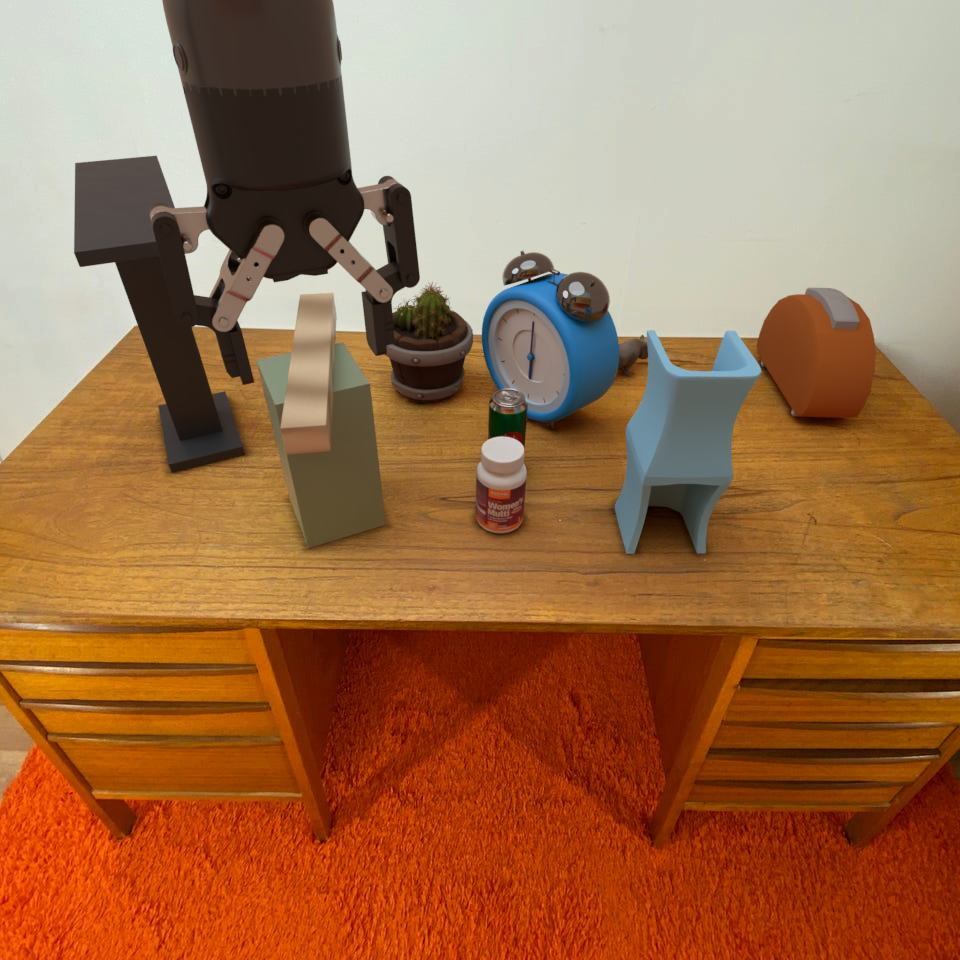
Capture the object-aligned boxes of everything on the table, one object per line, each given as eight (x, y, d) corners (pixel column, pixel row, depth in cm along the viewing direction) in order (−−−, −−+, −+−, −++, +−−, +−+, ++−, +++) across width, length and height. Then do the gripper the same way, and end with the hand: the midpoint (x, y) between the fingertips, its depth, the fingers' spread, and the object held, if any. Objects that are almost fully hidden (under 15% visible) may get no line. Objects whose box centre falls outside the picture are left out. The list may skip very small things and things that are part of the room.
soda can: (496, 454, 93) (499, 383, 85) (528, 463, 91) (534, 392, 83) (481, 473, 89) (482, 401, 82) (514, 484, 88) (518, 412, 80)
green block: (386, 524, 81) (370, 383, 68) (308, 548, 78) (274, 404, 64) (362, 478, 88) (343, 341, 75) (289, 499, 85) (255, 359, 71)
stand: (257, 492, 86) (185, 237, 64) (178, 513, 82) (73, 252, 60) (219, 372, 109) (156, 155, 87) (156, 385, 106) (74, 162, 84)
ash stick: (330, 451, 59) (326, 424, 57) (286, 455, 58) (280, 428, 56) (336, 315, 80) (333, 292, 78) (303, 317, 79) (299, 294, 77)
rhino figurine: (660, 365, 113) (667, 334, 109) (601, 387, 107) (606, 356, 103) (643, 356, 115) (649, 325, 112) (585, 376, 110) (590, 345, 106)
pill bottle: (487, 540, 79) (489, 470, 72) (468, 509, 84) (468, 440, 76) (531, 527, 81) (537, 458, 74) (511, 497, 86) (515, 429, 78)
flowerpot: (377, 371, 110) (365, 257, 97) (463, 361, 113) (463, 249, 100) (389, 418, 99) (377, 297, 86) (484, 406, 102) (486, 286, 89)
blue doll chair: (684, 499, 86) (735, 329, 70) (706, 553, 78) (768, 377, 62) (611, 500, 86) (646, 329, 69) (626, 554, 78) (668, 376, 62)
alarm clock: (478, 391, 106) (480, 250, 91) (520, 371, 111) (529, 235, 95) (568, 448, 94) (588, 298, 79) (611, 424, 99) (637, 278, 84)
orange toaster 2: (854, 431, 98) (902, 332, 88) (796, 429, 99) (837, 331, 88) (799, 355, 116) (834, 265, 106) (750, 354, 116) (779, 264, 106)
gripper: (378, 50, 36) (398, 319, 46) (96, 63, 31) (190, 360, 41) (428, 71, 30) (438, 368, 41) (100, 89, 26) (206, 420, 36)
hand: (313, 363), depth 41 cm, fingers open, 8 cm apart
